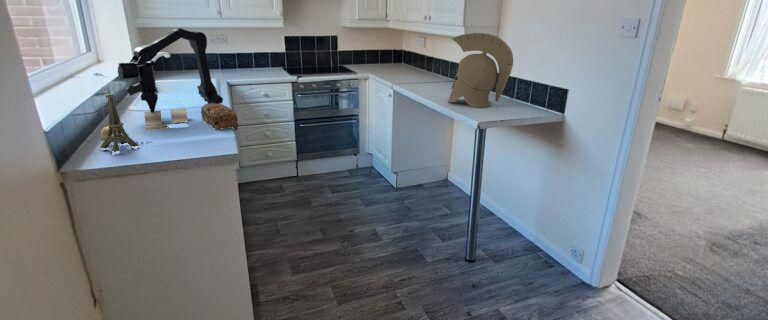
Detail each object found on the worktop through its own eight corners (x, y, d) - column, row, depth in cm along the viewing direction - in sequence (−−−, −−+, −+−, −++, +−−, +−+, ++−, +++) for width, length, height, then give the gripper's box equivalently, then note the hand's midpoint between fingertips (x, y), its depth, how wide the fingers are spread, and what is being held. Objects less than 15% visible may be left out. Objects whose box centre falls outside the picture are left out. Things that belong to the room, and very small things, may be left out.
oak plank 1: (144, 114, 193) (144, 111, 192) (160, 112, 196) (160, 110, 195) (145, 127, 189) (145, 125, 188) (162, 126, 192) (162, 124, 191)
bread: (202, 124, 198) (199, 103, 195) (225, 121, 204) (223, 100, 201) (215, 134, 184) (212, 111, 181) (239, 130, 190) (237, 108, 187)
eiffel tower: (114, 155, 156) (100, 86, 148) (97, 150, 161) (83, 83, 152) (142, 148, 165) (130, 82, 156) (125, 143, 170) (113, 79, 161)
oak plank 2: (170, 112, 198) (170, 109, 197) (186, 111, 200) (185, 108, 199) (172, 125, 194) (172, 123, 193) (188, 124, 196) (188, 121, 195)
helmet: (452, 98, 269) (457, 30, 255) (510, 104, 254) (519, 34, 241) (441, 104, 252) (446, 32, 238) (503, 111, 237) (512, 35, 224)
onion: (125, 136, 178) (122, 120, 175) (125, 142, 171) (122, 124, 169) (102, 139, 174) (99, 122, 172) (101, 144, 168) (98, 127, 165)
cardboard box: (146, 129, 188) (145, 125, 188) (188, 125, 195) (188, 122, 195) (145, 134, 181) (144, 131, 180) (189, 130, 188) (189, 127, 187)
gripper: (127, 74, 192) (133, 109, 198) (124, 81, 177) (130, 118, 182) (155, 73, 197) (160, 107, 202) (154, 80, 181) (160, 116, 186)
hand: (152, 112), depth 193 cm, fingers closed
